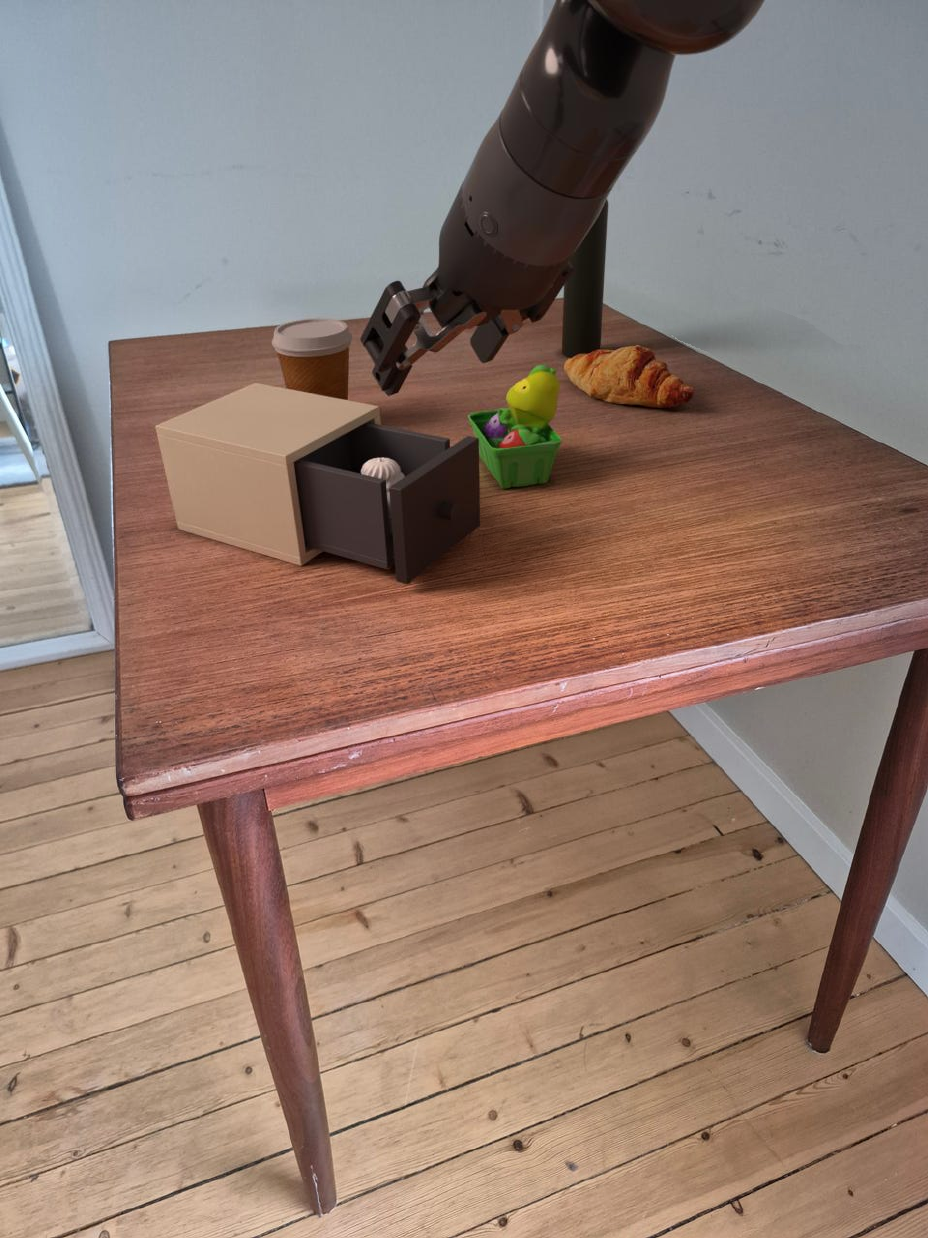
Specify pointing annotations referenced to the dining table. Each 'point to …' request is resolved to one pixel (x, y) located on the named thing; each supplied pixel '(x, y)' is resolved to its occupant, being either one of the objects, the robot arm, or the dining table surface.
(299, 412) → the cabinet
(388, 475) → the muffin
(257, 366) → the dining table surface
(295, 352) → the disposable coffee cup
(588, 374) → the croissant
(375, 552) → the pulled-out nightstand drawer
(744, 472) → the dining table surface
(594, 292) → the wine bottle
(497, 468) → the fruit basket
